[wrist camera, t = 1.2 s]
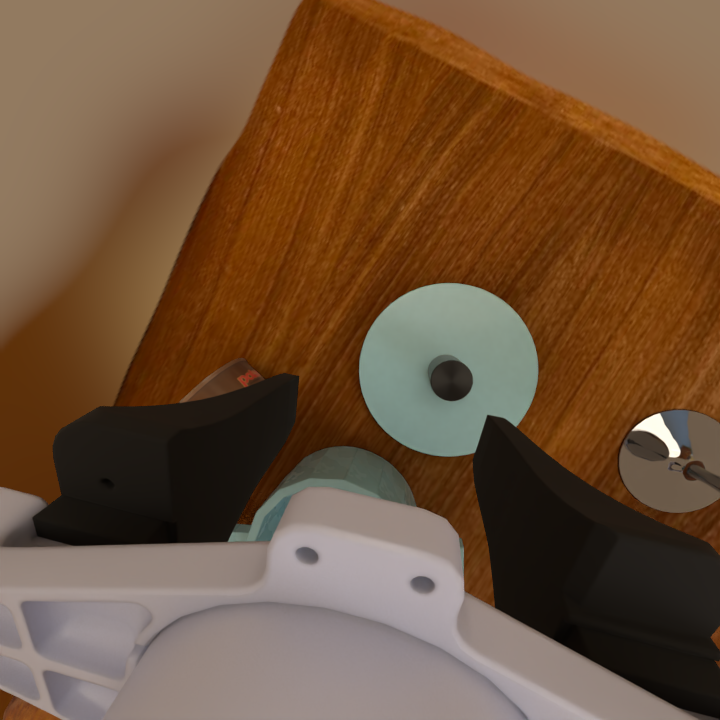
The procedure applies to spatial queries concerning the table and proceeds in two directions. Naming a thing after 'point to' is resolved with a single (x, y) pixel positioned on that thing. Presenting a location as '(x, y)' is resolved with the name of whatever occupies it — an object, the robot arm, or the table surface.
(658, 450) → the wine glass
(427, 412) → the lid
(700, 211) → the table surface
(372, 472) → the pot
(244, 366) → the tin
